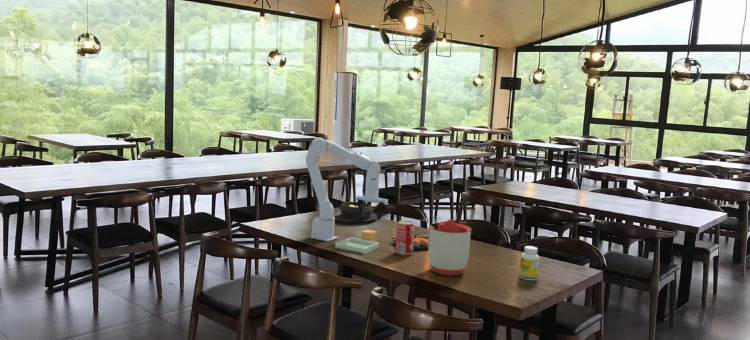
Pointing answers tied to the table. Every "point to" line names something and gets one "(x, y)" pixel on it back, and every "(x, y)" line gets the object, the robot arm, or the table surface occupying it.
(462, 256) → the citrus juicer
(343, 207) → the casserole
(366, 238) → the tan block
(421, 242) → the sushi plate
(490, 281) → the table surface
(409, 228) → the soda can
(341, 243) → the tray
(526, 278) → the pill bottle
